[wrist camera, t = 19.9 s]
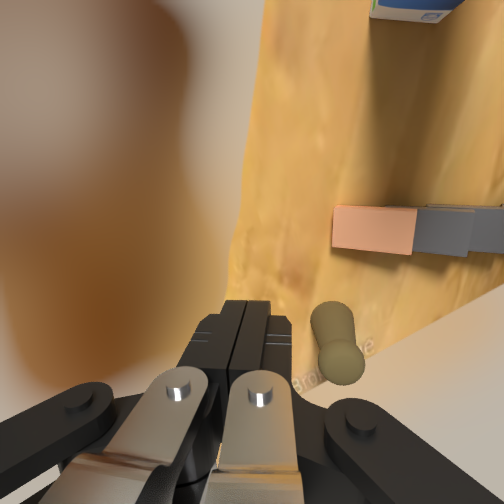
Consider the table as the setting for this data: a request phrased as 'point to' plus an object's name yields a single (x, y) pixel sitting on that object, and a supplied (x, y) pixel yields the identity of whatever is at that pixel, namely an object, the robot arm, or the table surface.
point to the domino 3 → (484, 227)
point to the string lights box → (413, 9)
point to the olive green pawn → (337, 343)
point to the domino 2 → (442, 230)
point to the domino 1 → (374, 228)
